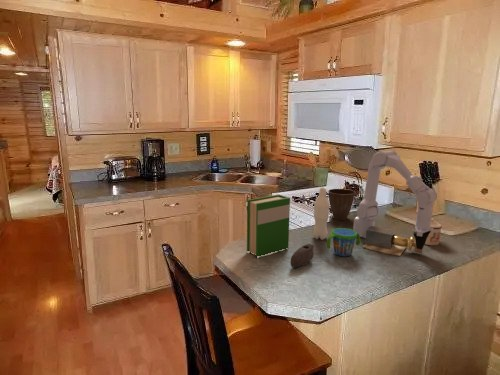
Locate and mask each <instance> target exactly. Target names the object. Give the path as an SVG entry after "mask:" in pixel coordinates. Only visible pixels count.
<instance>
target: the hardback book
mask: <svg viewBox="0 0 500 375" xmlns="http://www.w3.org/2000/svg"><path fill="white" fill-rule="evenodd" d="M246 203H247V204H246V252H247V251H250V252H252V253H254V254H256V256H261V255H265V254H268V253H271V252H275V251H279V250H282V249H286V248H288V249H289V238H290V214H291V213H290V211H291V210H290V208H291V207H290V206H291V197H289V196H285V195H282V194H272V195H268V196H262V197H256V198H251V199H246ZM252 253H251V254H252ZM254 254H253V255H254ZM256 256H255V257H256Z"/></svg>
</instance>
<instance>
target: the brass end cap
mask: <svg viewBox="0 0 500 375" xmlns="http://www.w3.org/2000/svg"><path fill="white" fill-rule="evenodd" d="M391 245H396V246H401V247H405V249H408V251H409V252H412V251H414V253H416V254H417V253H418V254H423V252H424V249H425V245H424V246H423V248H422V250H421V249H417V247H416V240H415V237H414V236H410V238H408V237H404V236H399V235H395V236H394V235H393V236H392V241H391Z"/></svg>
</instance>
